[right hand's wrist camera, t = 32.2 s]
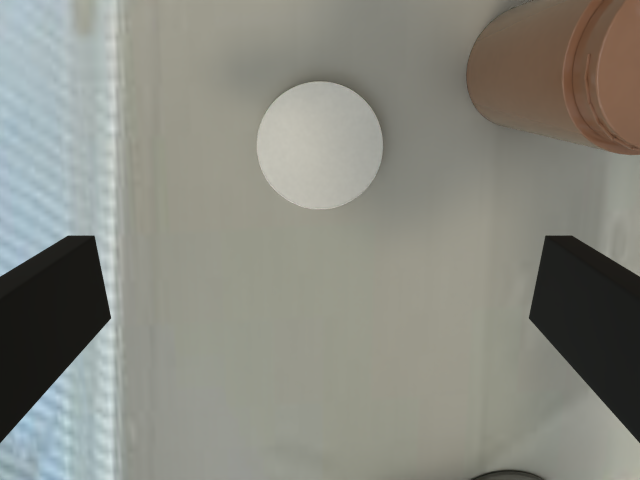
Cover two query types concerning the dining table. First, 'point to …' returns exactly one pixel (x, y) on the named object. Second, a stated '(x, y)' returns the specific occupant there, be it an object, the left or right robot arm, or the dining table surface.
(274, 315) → the dining table surface
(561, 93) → the jar
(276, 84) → the dining table surface
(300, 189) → the lid
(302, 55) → the dining table surface
